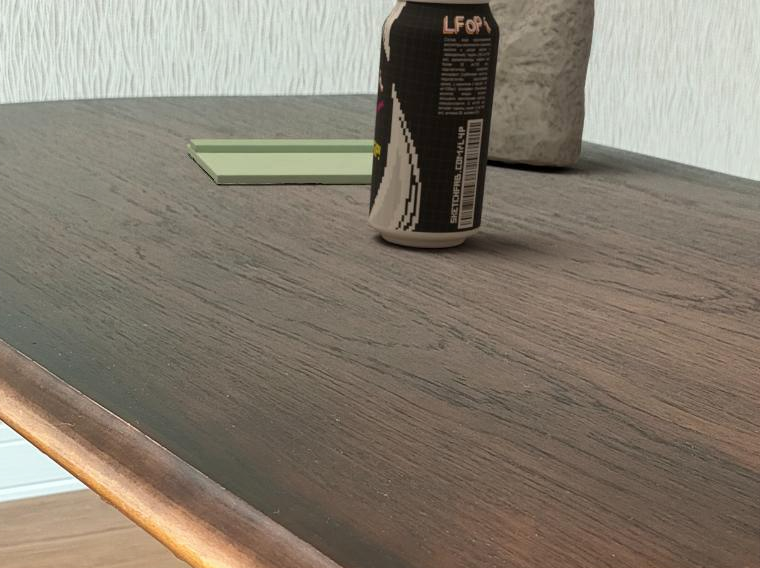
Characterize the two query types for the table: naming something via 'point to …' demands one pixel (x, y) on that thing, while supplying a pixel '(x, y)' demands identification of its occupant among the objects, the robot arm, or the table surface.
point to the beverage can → (433, 121)
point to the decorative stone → (540, 80)
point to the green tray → (285, 160)
